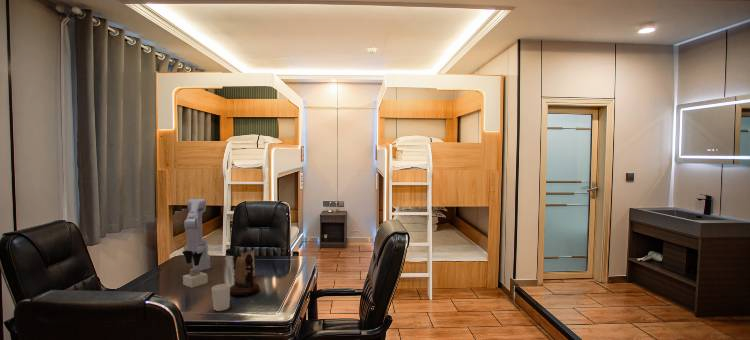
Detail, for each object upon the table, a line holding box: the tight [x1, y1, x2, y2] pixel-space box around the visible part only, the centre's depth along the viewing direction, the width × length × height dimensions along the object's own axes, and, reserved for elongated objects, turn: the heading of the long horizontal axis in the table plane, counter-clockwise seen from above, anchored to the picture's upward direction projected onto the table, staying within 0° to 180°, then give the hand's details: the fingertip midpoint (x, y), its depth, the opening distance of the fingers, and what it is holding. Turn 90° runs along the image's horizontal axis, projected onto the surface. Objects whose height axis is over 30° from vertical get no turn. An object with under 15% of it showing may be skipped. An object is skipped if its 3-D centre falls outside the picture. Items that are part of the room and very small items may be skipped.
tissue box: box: [182, 268, 209, 289], centre depth 205 cm, size 9×9×8 cm
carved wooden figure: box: [240, 250, 256, 277], centre depth 211 cm, size 11×7×15 cm, turn 149°
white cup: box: [211, 283, 231, 312], centre depth 172 cm, size 8×8×10 cm
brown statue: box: [230, 252, 260, 298], centre depth 191 cm, size 15×15×20 cm
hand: (192, 264), depth 206 cm, fingers open, 7 cm apart
